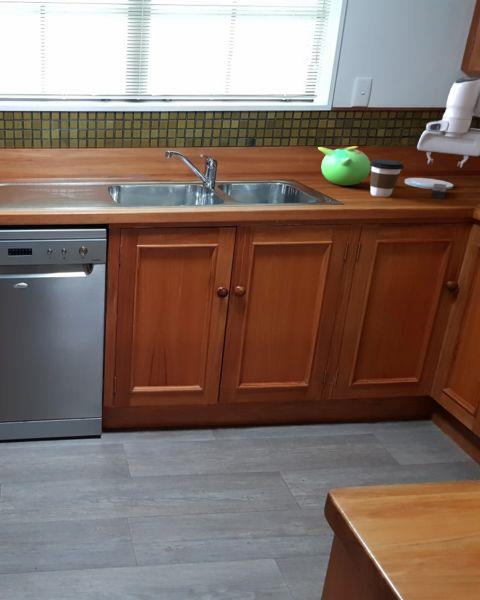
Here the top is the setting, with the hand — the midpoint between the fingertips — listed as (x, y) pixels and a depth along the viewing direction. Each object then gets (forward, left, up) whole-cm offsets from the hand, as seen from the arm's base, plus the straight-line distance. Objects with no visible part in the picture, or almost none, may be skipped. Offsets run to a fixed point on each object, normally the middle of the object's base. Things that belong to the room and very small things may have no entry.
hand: (444, 165), depth 219 cm
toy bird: (+33, +4, -11) cm, 35 cm away
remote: (0, 0, -11) cm, 11 cm away
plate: (+4, -18, -11) cm, 21 cm away
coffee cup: (+18, +14, -11) cm, 25 cm away
